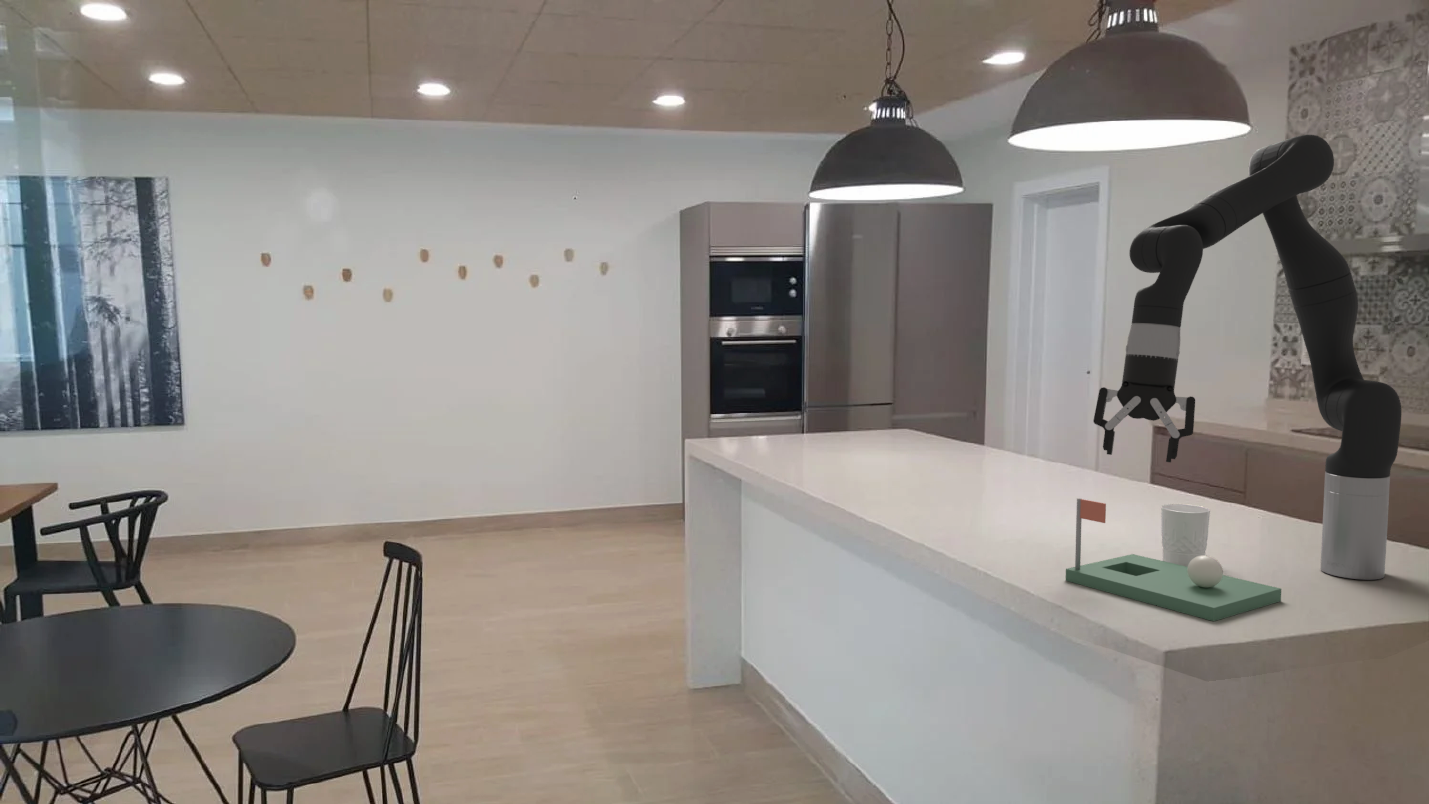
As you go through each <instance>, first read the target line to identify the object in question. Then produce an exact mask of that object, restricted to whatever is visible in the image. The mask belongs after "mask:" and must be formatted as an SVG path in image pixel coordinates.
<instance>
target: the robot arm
mask: <svg viewBox="0 0 1429 804" xmlns="http://www.w3.org/2000/svg"><path fill="white" fill-rule="evenodd" d="M1334 166H1335V157H1334V152H1333V150H1332V148H1331V146H1330V144H1329V143H1328V141H1327V140H1325V139H1324V138H1323V137H1321V136H1319V135H1315V134H1301V135H1297V136H1292V137H1291V138H1290V137H1289V138H1287V139H1283V140H1281V141H1278V142H1275V143H1272V144H1268V145H1266V146H1263V147H1261V148H1259V149H1256V151H1255V152H1253V153H1252V155H1251V156H1250V158H1249V163H1248V176H1247V177H1245V178H1241V179H1240V180H1238V181H1236V182H1234V183H1231V184H1229V185H1227V186H1225V187H1221V188H1220V189H1218V190H1216V191H1214V192H1212V193H1210V194H1208V195H1207V196H1205V197H1203V198H1202V199H1201V200H1199V201H1197V202H1196V203H1194V204H1193V205H1191V206H1190V207H1188V208H1187V209H1186V210H1183V211H1182V212H1179V213H1177V214H1173V215H1172V216H1169V217H1166V218H1164V219H1162V220H1159V221H1157V222H1155V223H1153V224H1151V225H1149V226H1147V227H1145V228H1143V229H1142V230H1141V231H1139V232H1138V233H1137V234H1136V236H1135V237H1134V238H1133V240H1132V242H1131V243H1130V248H1129V258H1130V259H1129V260H1130V262H1131V263H1132V265H1133V266H1134V268H1135V269H1137V270H1139V271H1141V272H1144V273H1147V274H1155V273H1156V274H1158V273H1159V274H1158V276H1157V278H1156V280H1155V281H1154V282H1153V283H1152V284H1150V285H1147V286H1144V287H1143V288H1141V289H1139V290H1138V291H1137V292H1136V294H1135V297H1134V302H1133V308H1132V309H1133V310H1132V319H1131V325H1130V330H1129V334H1128V337H1127V343H1126V346H1125V357H1124V365H1123V372H1122V379H1121V380H1122V381H1121V386H1120V388H1119V389H1118V390H1116V389H1111V388H1110V389H1108V388H1107V387H1100V388H1099V390H1098V395H1097V401H1096V406H1095V411H1094V416H1093V423H1094V425H1096V426H1099V427H1101V428H1102V429H1103V430H1104V436H1103V441H1102V442H1103V445H1102V449H1103V451H1106V455H1108V456H1109V455H1110V456H1111V455H1113V449H1114V442H1115V434H1116V431H1115V428H1116V427H1117V426H1118V425H1119V424H1120V423H1121V422H1122V421H1123V420H1125V419H1126V417H1130V418H1132V419H1137V420H1141V419H1145V420H1148V421H1153V422H1154V421H1158V420H1161V422H1162V424H1163V425H1164V427H1165V428H1166V429H1167V431H1168V433H1169V434H1170V437H1169V438H1168V444H1167V451H1166V460H1165V463H1172V460H1176V458H1177V457H1178V450H1179V444H1180V439H1182V438H1185V437H1189V436H1190V437H1191V436H1193V434H1194V426H1195V413H1196V412H1195V411H1196V398H1195V397H1194V396H1187V397H1185V396H1176V394H1175V388H1176V387H1175V386H1176V380H1177V379H1176V378H1177V371H1178V365H1179V356H1180V352H1181V351H1180V350H1181V349H1180V348H1181V327H1182V322H1183V321H1182V319H1183V312H1184V305H1185V301H1186V298H1187V296H1188V294H1189V291H1190V289H1191V287H1192V284H1193V282H1194V281H1195V278H1196V276H1197V275H1196V274H1197V273H1198V270H1199V267H1200V265H1201V263H1202V259H1203V254H1204V253H1203V252H1204V249H1208V248H1211V247H1212V246H1215V245H1216V244H1217V243H1219V242H1220V241H1222V240H1224V239H1225V238H1226V237H1228V236H1229V235H1231V234H1233V233H1234V232H1235V231H1237V230H1238V229H1240V228H1241V227H1242V226H1243V227H1244V225H1246V224H1248V223H1249V222H1250V221H1252V220H1254V219H1255V218H1257V217H1258V216H1260V215H1262V216H1263V217H1264V220H1265V222H1266V224H1267V227H1268V229H1269V232H1270V234H1271V237H1272V240H1273V243H1274V246H1275V249H1276V252H1277V254H1278V257H1279V261H1280V264H1281V268H1282V271H1283V274H1284V276H1285V277H1284V279H1285V282H1286V285H1287V289H1288V293H1289V296H1290V299H1291V303H1292V307H1293V309H1294V313H1295V315H1296V317H1297V321H1298V324H1299V328H1300V331H1301V335H1302V338H1303V341H1304V345H1305V348H1306V352H1307V354H1308V358H1309V363H1310V367H1311V374H1312V380H1313V384H1314V390H1315V398H1316V402H1317V408H1318V410H1319V414H1320V415H1321V417H1322V420H1323V421H1324V422H1325V423H1326V424H1327V425H1328V426H1330V427H1331V428H1333V429H1335V430H1337V431H1339V432H1342V433H1341V441H1340V445H1339V448H1338V449H1337V451H1336V452H1333V453H1330V454H1328V456H1326V458H1325V467H1324V468H1325V469H1324V471H1325V472H1324V486H1323V487H1324V490H1323V510H1322V511H1323V512H1322V513H1323V514H1322V530H1321V548H1320V549H1321V550H1320V571H1322V572H1324V573H1326V574H1328V575H1331V576H1335V577H1338V578H1339V577H1340V578H1345V579H1355V580H1364V581H1366V580H1367V581H1369V580H1381V579H1383V578H1385V573H1386V557H1387V556H1386V555H1387V542H1388V541H1387V539H1388V538H1387V537H1388V522H1389V521H1388V520H1389V502H1390V500H1389V499H1390V485H1391V484H1390V483H1391V469H1392V467H1393V465H1394V463H1395V461H1396V458H1397V455H1398V451H1399V443H1400V433H1401V426H1402V425H1401V424H1402V404H1401V399H1400V396H1399V394H1398V392H1397V391H1396V390H1395V388H1393V387H1392V386H1391V385H1389V384H1388V383H1385V382H1381V381H1377V380H1368V379H1364V376H1363V375H1362V373H1361V370H1360V367H1359V364H1358V361H1357V358H1356V354H1355V350H1354V334H1355V329H1356V328H1355V327H1356V323H1357V320H1358V319H1357V317H1358V311H1359V298H1358V293H1357V289H1356V286H1355V283H1354V278H1353V275H1352V273H1351V269H1350V265H1349V263H1348V262H1347V259H1346V258H1345V257H1344V256H1343V254H1341V252H1340V251H1338V249H1337V248H1335V246H1333V244H1331V243H1330V242H1329V241H1328V240H1327V239H1326V238H1324V236H1322V235H1321V233H1318V231H1317V230H1316V229H1315V228H1314V227H1313V226H1312V225H1311V224H1310V223H1309V221H1308V220H1307V218H1306V217H1305V214H1304V213H1303V210H1302V208H1301V207H1302V206H1301V205H1300V202H1299V199H1298V195H1300V194H1304V193H1307V192H1310V191H1313V190H1315V189H1317V188H1319V187H1321V186H1322V185H1324V184H1325V183H1326V182H1327V181H1328V180H1329V178H1330V177H1331V176H1332V172H1333V171H1334ZM1115 397H1117V399H1118V401H1119V403H1120V404H1121V406H1122V408H1121V409H1120V410H1119V411H1118V412H1116V413H1115V415H1113V416H1112V417H1111V418H1110V419H1109V420H1107V419H1104V417H1105V416H1104V415H1105V412H1106V407H1107V403H1111V402H1112V401H1113V398H1115ZM1175 404H1178V405H1179V408H1180V410H1181V411H1183V412H1185V414H1184V415H1185V416H1184V417H1185V418H1184V428H1180V429H1178V428H1177V427H1176V425H1175V423H1174V422H1173V420H1172V419H1171V417H1170V416H1169V414H1168V411H1170V409H1172V408H1173V407H1174V406H1175Z"/></svg>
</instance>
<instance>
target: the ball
mask: <svg viewBox="0 0 1429 804" xmlns="http://www.w3.org/2000/svg"><path fill="white" fill-rule="evenodd" d="M1187 572H1188V576H1189V578H1190V579H1191V581H1192V582H1193V583H1194V584H1196V585H1198V586H1200V587H1204V588H1209V587H1213V586H1215V585H1217V584H1218V583H1219V582H1220V581H1221V579H1222V577H1223V575H1224V569H1223V566H1222V564H1221V563H1220V561H1218V559H1216V558H1215V557H1213V556H1210V555H1206V554H1205V555H1201V556H1197V557H1195V558H1194V559H1192V560H1191V561H1190V563H1189V565H1188V569H1187Z"/></svg>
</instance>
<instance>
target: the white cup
mask: <svg viewBox="0 0 1429 804" xmlns="http://www.w3.org/2000/svg"><path fill="white" fill-rule="evenodd" d="M1160 510H1161V512H1160V514H1161V515H1160V517H1161V519H1160V520H1161V545H1162V561H1165V562H1169V563H1173V564H1178V565H1182V566H1186V567H1188V565H1189V563H1190V561H1191V560H1192V559H1194V558H1195V557H1197V556H1201V555H1206V551H1207V546H1208V538H1209V527H1210V526H1209V525H1210V516H1211V509H1210V508H1209V507H1206V506H1201V505H1196V504H1189V503H1188V504H1186V503H1168V504H1163V505H1161V507H1160Z"/></svg>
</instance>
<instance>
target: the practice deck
mask: <svg viewBox="0 0 1429 804" xmlns="http://www.w3.org/2000/svg"><path fill="white" fill-rule="evenodd" d="M1106 511H1107V503H1105V502H1099V501H1094V500H1089V499H1085V498H1076V521H1075V522H1076V524H1075V555H1074V556H1075V559H1074V560H1075V561H1074V562H1075V564H1074V566H1071V567H1068V568H1066V569H1065V581H1067V582H1069V583H1073V584H1077V585H1081V586H1084V587H1088V588H1092V589H1096V590H1098V591H1102V592H1107V593H1110V594H1113V595H1117V596H1121V597H1124V598H1128V599H1131V600H1135V601H1138V602H1142V603H1146V604H1149V605H1153V606H1156V605H1157V607H1161V608H1163V609H1166V610H1167V609H1168V610H1170V611H1175V612H1178V613H1183V614H1185V615H1189V616H1193V617H1198V618H1200V619H1203V620H1208V621H1210V622H1216V621H1219V620H1223V619H1225V618H1229V617H1233V616H1235V615H1239V614H1243V613H1246V612H1249V611H1253V610H1256V609H1260V608H1263V607H1266V606H1269V605H1273V604H1275V603H1278V602H1282V588H1281V587H1277V586H1272V585H1268V584H1263V583H1258V582H1254V581H1250V580H1247V579H1242V578H1238V577H1233V576H1229V575H1224V574H1223V577H1222V579H1221V581H1220V582H1219V583H1218V584H1217V585H1215V586H1213V587H1209V588H1204V587H1200V586H1198V585H1196V584H1194V583H1193V582H1192V581H1191V579H1190V578H1189V576H1188V572H1187V569H1188V567H1186V566H1182V565H1178V564H1173V563H1169V562H1165V561H1163V560H1161V559H1160V560H1159V559H1156V558H1151V557H1148V556H1143V555H1138V554H1133V553H1131V554H1127V555H1122V556H1118V557H1113V558H1109V559H1105V560H1099V561H1095V562H1091V563H1086V564H1081V559H1082V558H1081V556H1082V555H1081V553H1082V552H1081V551H1082V549H1081V548H1082V547H1081V546H1082V519H1083V520H1088V521H1091V522H1092V521H1093V522H1096V523H1102V524H1106V516H1107V515H1106Z"/></svg>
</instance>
